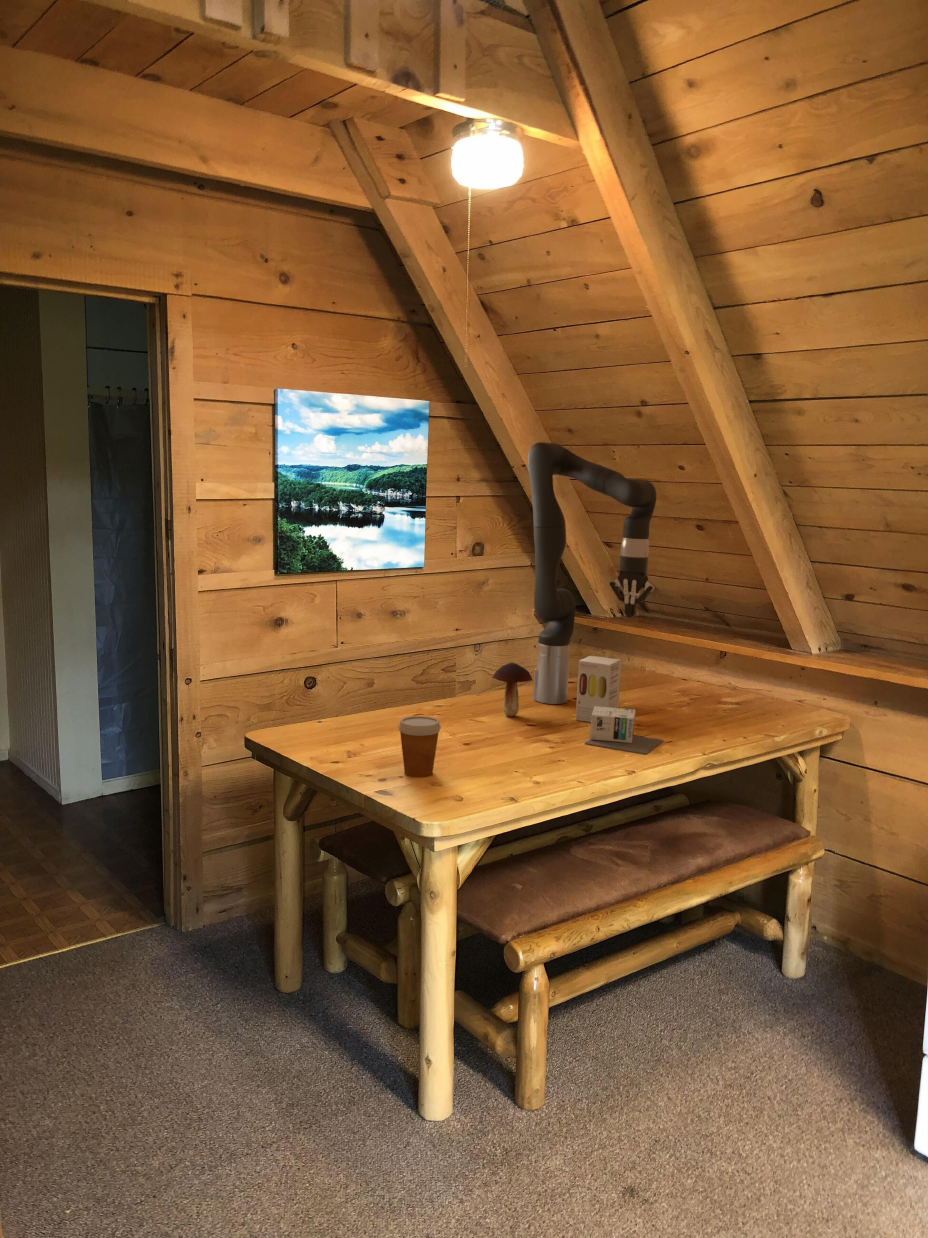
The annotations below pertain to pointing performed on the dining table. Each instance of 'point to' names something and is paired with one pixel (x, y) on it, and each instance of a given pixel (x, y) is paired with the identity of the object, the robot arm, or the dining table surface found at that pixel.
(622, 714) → the light bulb box
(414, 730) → the disposable coffee cup
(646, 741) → the mat
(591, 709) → the supplement box
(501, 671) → the decorative mushroom
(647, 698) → the dining table surface
